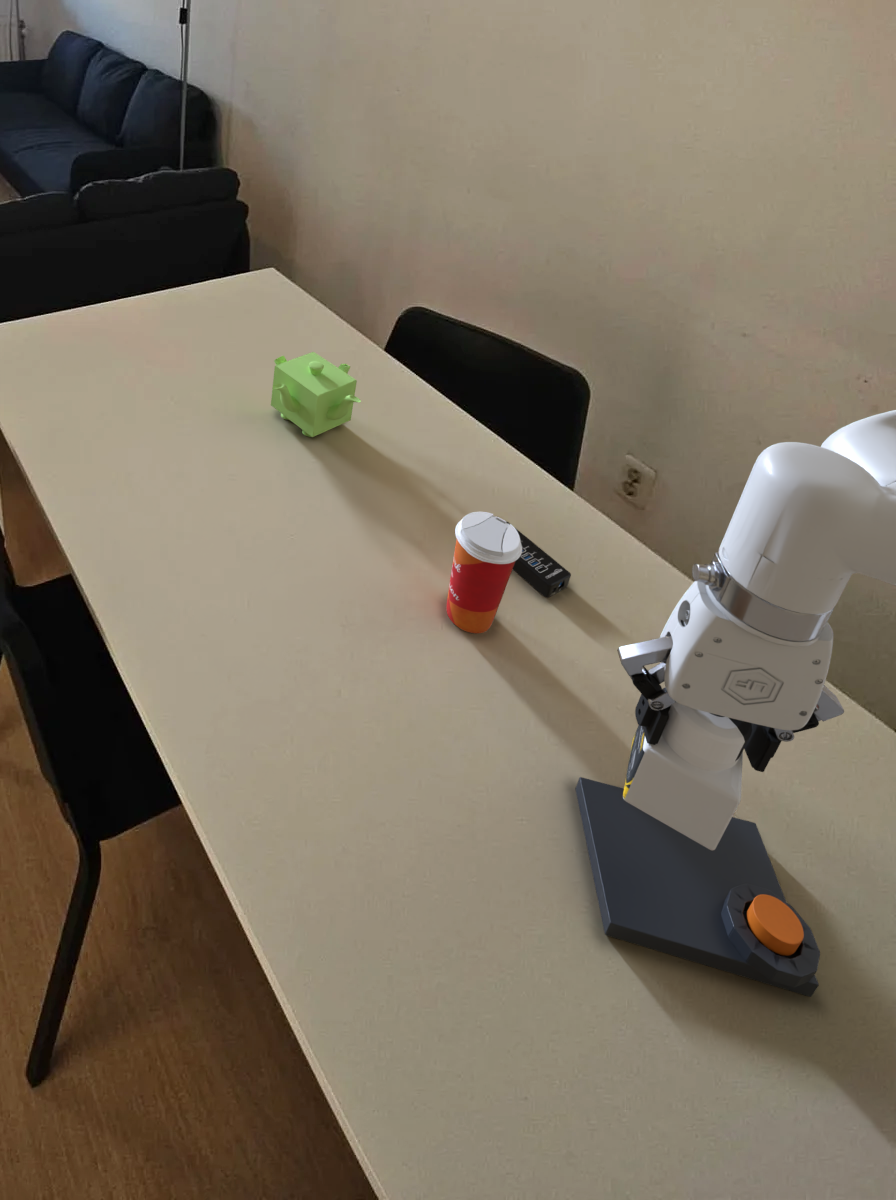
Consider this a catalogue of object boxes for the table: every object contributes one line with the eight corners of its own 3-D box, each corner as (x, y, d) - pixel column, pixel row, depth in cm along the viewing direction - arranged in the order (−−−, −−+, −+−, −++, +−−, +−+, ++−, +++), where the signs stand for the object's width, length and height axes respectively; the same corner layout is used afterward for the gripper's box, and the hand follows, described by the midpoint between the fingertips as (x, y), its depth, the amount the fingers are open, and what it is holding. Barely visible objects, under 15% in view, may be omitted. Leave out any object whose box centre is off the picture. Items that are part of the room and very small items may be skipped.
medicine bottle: (632, 738, 76) (668, 650, 71) (719, 784, 72) (763, 695, 67) (621, 800, 70) (659, 710, 65) (714, 854, 66) (762, 762, 62)
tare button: (785, 912, 69) (792, 901, 68) (804, 962, 65) (812, 950, 65) (739, 900, 69) (746, 888, 69) (756, 947, 66) (763, 936, 66)
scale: (752, 835, 77) (764, 813, 76) (818, 1009, 65) (834, 987, 64) (575, 788, 81) (583, 766, 79) (606, 945, 69) (617, 922, 67)
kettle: (353, 452, 129) (362, 395, 125) (267, 441, 131) (272, 385, 127) (348, 399, 143) (356, 346, 138) (270, 390, 145) (276, 338, 140)
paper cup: (455, 581, 105) (475, 499, 100) (511, 616, 100) (535, 532, 95) (425, 614, 100) (445, 530, 95) (483, 653, 95) (506, 566, 90)
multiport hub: (503, 532, 114) (506, 520, 113) (568, 587, 105) (572, 574, 104) (481, 542, 112) (484, 529, 111) (546, 598, 103) (550, 585, 102)
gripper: (658, 603, 60) (599, 755, 67) (927, 661, 56) (834, 816, 63) (632, 533, 66) (580, 678, 73) (870, 581, 62) (792, 728, 69)
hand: (698, 741), depth 68 cm, fingers closed on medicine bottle, 7 cm apart
